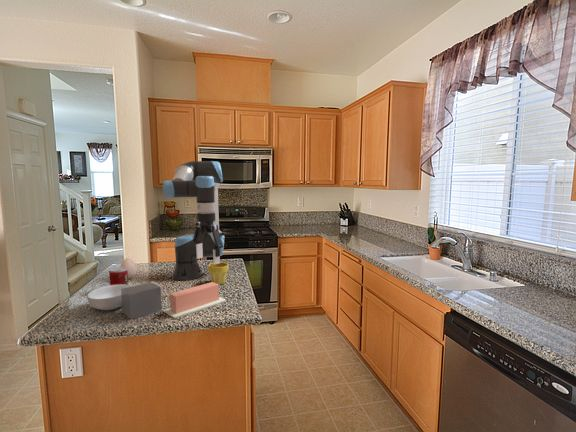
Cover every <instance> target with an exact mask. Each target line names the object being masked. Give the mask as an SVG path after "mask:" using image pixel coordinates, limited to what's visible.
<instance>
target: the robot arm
mask: <svg viewBox="0 0 576 432" xmlns="http://www.w3.org/2000/svg"><path fill="white" fill-rule="evenodd" d="M222 171H223V170H222V166H221V163H220V162H219V161H213V160H211V161H210V160H209V161H208V160H205V161H202V160H197V161H196V160H192V161H187V162H184V163H182V164H180V165H179V166H177V168H176V169H175V171H174V176H173V178H172V180H171V179H170V180H169V179H168V180H164V181H163V182H162V195H163V196H164V197H165V198H171V199H173V198H176V199H177V198H196V211H197V212H198V213H196V219H197V222H195V229H194V233H187V234H183V235H179V236H177V237H176V238H175V240H174V249H175V250H174V253H175V255H174V256H175V266H174V268H173V272H172V278H173V279H174V280H175V281H190V280H196V279H198V278H200V277H201V276H202V269H201V266H200V264H199V262H198V261H199V260H198V259H203V258H213V259H212V260H213V262H212V263H213V264H214V265H215V264H219V263H220V262H221V259H220V258H221V256H223V254H224V248H225V247H224V246H225V235H223V232H222V231H221V230H220V220H219V219H220V218H219V217H220V216H219V213H220V212H219V188H220V186H221V183H223V182H224V178H223V172H222Z"/></svg>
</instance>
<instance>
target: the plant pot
mask: <svg viewBox="0 0 576 432" xmlns="http://www.w3.org/2000/svg"><path fill="white" fill-rule="evenodd" d="M207 267H208V268H207V269H208V270H207V271H208V272H209V275H210V278H211V282H214V283H216V284H219V286H220V285H224V284H225V283H226V279H227V274H228V271H229V263H228V262H226V261H225V262H224V261H223V262H222V261H220V263H219V264H215V265H214V264H213V262H211V263H209V264H208V266H207Z"/></svg>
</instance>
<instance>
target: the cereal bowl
mask: <svg viewBox="0 0 576 432" xmlns="http://www.w3.org/2000/svg"><path fill="white" fill-rule="evenodd" d="M132 286H133V285H129V284H128V285H124V284H120V285H110V284H109V285H106V286H102V287H99V288H96V289H94V290H92V291H90V292H89V293H88V294H86V295H87V296H86V299H87V302H88V305H89V306H90V307H92V308H93V309H97V310H102V311H111V310H112V311H113V310H116V309H119V308H121V307H122V296H121V289H123V288H128V287H132Z"/></svg>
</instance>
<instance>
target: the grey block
mask: <svg viewBox="0 0 576 432" xmlns="http://www.w3.org/2000/svg"><path fill="white" fill-rule="evenodd" d="M131 286H132V287H128V288H123V289H121V296H122V306H121V307H122V314H123V313H124V314H123V315H124V316H126V317H127V318H128V317H129V318H130V319H129V318H128V319H129V320H131V319H132V320H135V319H138V317H139V318H141V316H142V317H145V316H148V315H151V313H152V314H154V313H158V312H160V311H163V310H162V308H163V307H162V306H163V305H162V293H163V292H164V288H163V287H164V286H163V285H160V284H159V283H157V282H155V281H150V282H144V283H142V284H137V285H131ZM134 318H135V319H134Z"/></svg>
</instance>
